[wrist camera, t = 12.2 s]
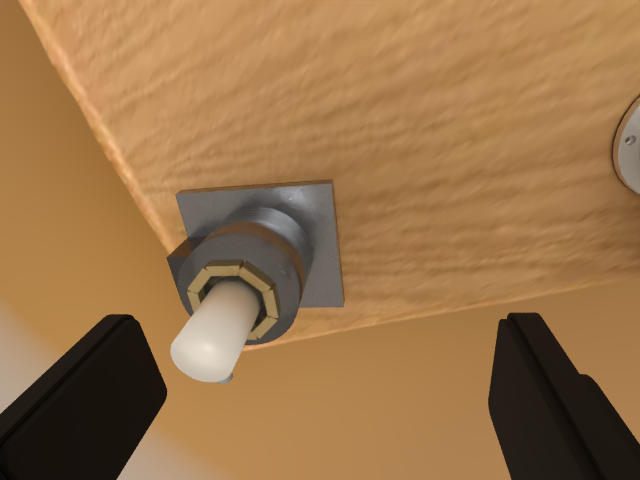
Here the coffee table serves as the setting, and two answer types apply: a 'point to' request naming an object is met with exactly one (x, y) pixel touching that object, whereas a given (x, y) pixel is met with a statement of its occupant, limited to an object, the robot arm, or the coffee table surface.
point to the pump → (217, 331)
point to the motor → (262, 248)
